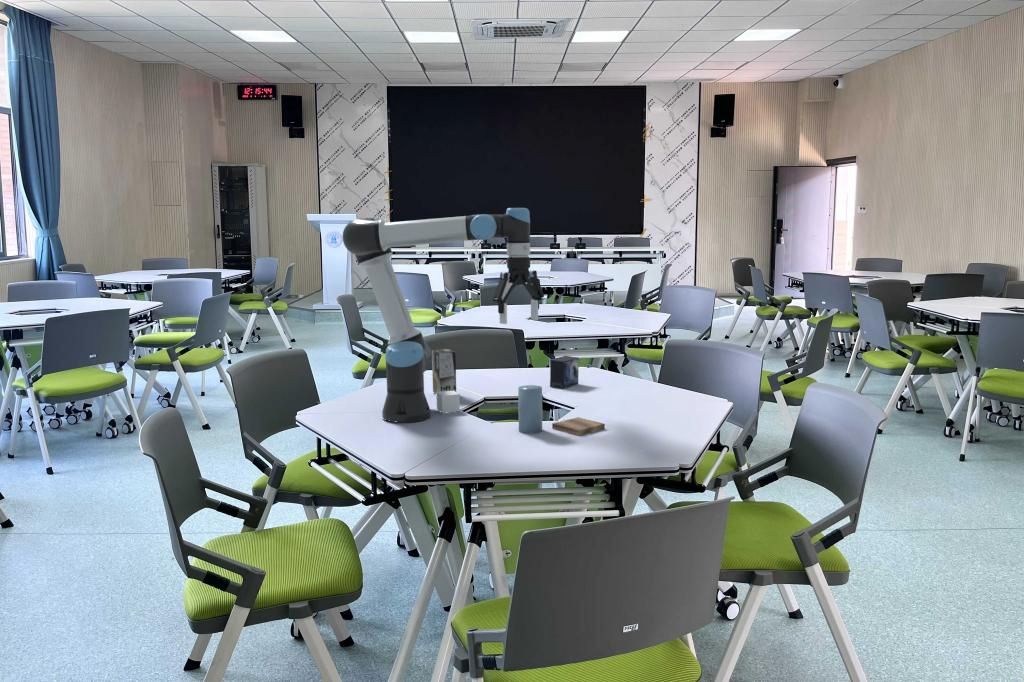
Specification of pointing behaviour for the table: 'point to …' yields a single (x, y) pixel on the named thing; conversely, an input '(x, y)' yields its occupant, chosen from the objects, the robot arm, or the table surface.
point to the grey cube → (448, 401)
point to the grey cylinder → (530, 409)
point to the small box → (564, 372)
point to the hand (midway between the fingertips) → (519, 321)
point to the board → (578, 426)
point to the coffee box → (444, 370)
